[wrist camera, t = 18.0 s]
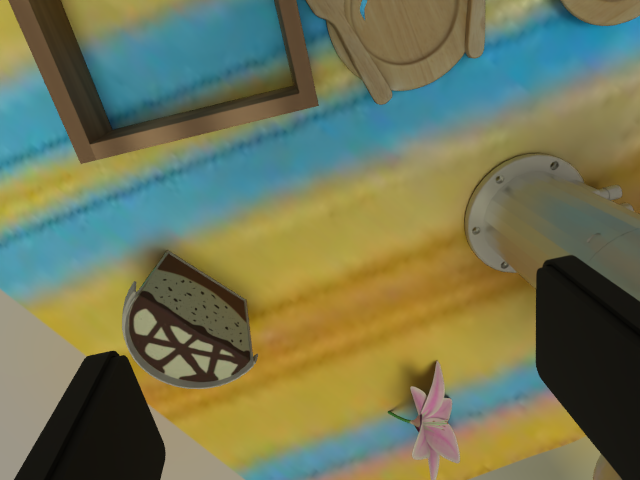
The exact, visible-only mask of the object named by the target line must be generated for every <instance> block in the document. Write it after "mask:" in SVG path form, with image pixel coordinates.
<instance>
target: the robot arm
mask: <svg viewBox="0 0 640 480" xmlns="http://www.w3.org/2000/svg"><path fill="white" fill-rule="evenodd" d="M497 176H498V177H497ZM496 177H497V179H496ZM620 197H622V190H621V188H620V186H618V185H612V186H608V187H604V188H602V189H599V190H597V189H595V188H593V187H591V186H588V185H586V184H585V183H584V180H583V178H582V177H581V175H580V174H579V172H578V171H577V170H576V169H575V168H574V167H573V166H572V165H571V164H570V163H568V162H566V161H564V160H562V159H560V158H557V157H555V156H552V155H547V154H541V153H536V154H526V155H522V156H518V157H515V158H512V159H510V160H508V161H506V162H504V163H502V164H501V165H499V166H498V167H496V168H495V169H493V170H492V171H491V172H490V173H489V174H488V175H487V176H486V177H485V178H484V179H483V180H482V181H481V183H480V184H479V185H478V186H477V188H476V189H475V191H474V193H473V195H472V197H471V199H470V201H469V204H468V207H467V210H466V216H465V233H466V237H467V241H468V243H469V245H470V247H471V249H472V251H473V252H474V253H475V254H476V255H477V257H478V258H479V259H481V260H482V261H483V262H484V263H485V264H486V265H488V266H490V267H492V268H493V269H496V270H499V271H502V272H511V273H519V274H520V275H521V276H522V277H523V278H524V279H525V280H526V281H527V282H529V283H530V284H531V285H532V286H533V287H534V288H535V289H536V367H537V371H538V374H539V376H540V378H541V379H542V381H543V382H544V383H545V384H546V386H547V387H548V388H549V389H550V391H551V392H552V393H553V394H554V396H555V397H556V398H557V399H558V401H559V402H560V403H561V404H562V406H563V407H564V408H565V409H566V410H567V412H568V413H569V414H570V415H571V417H572V418H573V419H574V420H575V422H576V423H577V424H578V425H579V427H580V428H581V429H582V430H583V432H584V433H585V434H586V435H587V437H588V438H589V439H590V440H591V442H592V443H593V444H594V445H595V447H596V448H597V449H598V450H599V451H600V453H601V455H600V457H599V459H598V461H597V463H596V467H595V469H594V474H593V480H640V214H639V213H636V212H634V209H633V208H632V206H631V205H630V204H628V203H622V204H617V203H615V202H613V201H611V200H615V199H619V198H620ZM473 228H474V229H473ZM164 462H165V447H164V443H163V440H162V438H161V435H160V433H159V431H158V428H157V426H156V424H155V421H154V419H153V417H152V414H151V412H150V409H149V407H148V405H147V402H146V400H145V398H144V395H143V393H142V391H141V388H140V386H139V384H138V381H137V379H136V376H135V374H134V372H133V369H132V367H131V365H130V362H129V360H128V358H127V357H126V356H124V355H122V356H119V354H118V353H117V352H116V351H109V352H105V353H100V354H95V355H90V356H87V357H86V358H85V359H84V361H83V362H82V364H81V366H80V368H79V369H78V371H77V373H76V374H75V376H74V378H73V379H72V381H71V383H70V385H69V386H68V388H67V390H66V391H65V393H64V395H63V397H62V398H61V400H60V402H59V403H58V405H57V407H56V409H55V410H54V412H53V414H52V416H51V417H50V419H49V421H48V422H47V424H46V426H45V427H44V429H43V431H42V432H41V434H40V436H39V438H38V440H37V441H36V443H35V445H34V446H33V448H32V450H31V451H30V453H29V455H28V456H27V458H26V460H25V462H24V463H23V465H22V467H21V469H20V470H19V472H18V474H17V475H16V477H15V479H14V480H160V478H161V474H162V470H163V466H164Z"/></svg>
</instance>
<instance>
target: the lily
mask: <svg viewBox="0 0 640 480" xmlns="http://www.w3.org/2000/svg"><path fill="white" fill-rule="evenodd" d="M410 388H411V393H412V396H413V399H414V402H415V405H416V408H417V412H418V416H417V418H416V419H415V420H407V419H404V418H402V417H400V416H397V415H395V414H394V413H392V412H390V411H388V413H389V414H390V415H392V416H394V417H396V418H398V419H400V420H402V421H405V422H408V423H411V424H413V425H415V427H416V429H417V430H418V432H419V435H418V438H417V440H416V443H415V446H414V449H413V452H412V457H413V458H414V459H417V460H419V459H426V458H428V461H429V468H430V476H431V480H436V477H437V473H438V467H439V455H441V456H442V457H444V458H446V459H448V460H450V461H452V462H455V463H459V462H460V454H459V448H458V444H457V440H456V436H455V434H454V432H453V429H452V428H451V426H450V425H449V424H448V420H449V417H450V414H451V409H452V400H451V399H450V398H444V394H445V390H444V380H443V375H442V370H441V367H440V363H439V362H438V361H437V363H436V368H435V374H434V379H433V383H432V386H431V389H430V392H429V395H428V397H427V396H426V394H425V393H424V392H423V391H422V390H420V389H418V388H416V387H413V386H411V387H410ZM421 410H422V411H421ZM420 412H421V413H420Z"/></svg>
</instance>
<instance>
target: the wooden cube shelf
mask: <svg viewBox="0 0 640 480" xmlns="http://www.w3.org/2000/svg"><path fill="white" fill-rule="evenodd" d="M274 2H275V6H276V11H277V15H278V19H279V24H280V28H281V32H282V37H283V41H284V45H285V50H286V54H287V58H288V63H289V67H290V71H291V76H292V80H293V84H294V86H290V87H286V88H282V89H278V90H274V91H270V92H266V93H261V94H257V95H253V96H249V97H245V98H241V99H237V100H233V101H229V102H224V103H220V104H216V105H212V106H208V107H204V108H200V109H196V110H192V111H187V112H183V113H179V114H175V115H171V116H167V117H163V118H159V119H155V120H151V121H146V122H142V123H138V124H134V125H130V126H126V127H122V128H118V129H114V130H112V128H111V125H110V123H109V120H108V118H107V115H106V113H105V110H104V108H103V105H102V103H101V100H100V98H99V95H98V93H97V90H96V88H95V85H94V83H93V80H92V78H91V75H90V73H89V70H88V68H87V65H86V63H85V60H84V58H83V55H82V53H81V51H80V48H79V46H78V43H77V41H76V38H75V36H74V33H73V31H72V28H71V26H70V23H69V21H68V18H67V16H66V13H65V11H64V8H63V6H62V3H61V1H60V0H9V3H10V5H11V7H12V9H13V12H14V14H15V16H16V18H17V21H18V23H19V25H20V28H21V30H22V32H23V34H24V37H25V39H26V41H27V43H28V46H29V48H30V50H31V52H32V55H33V57H34V59H35V61H36V64H37V66H38V68H39V70H40V73H41V75H42V77H43V79H44V82H45V84H46V86H47V89H48V91H49V93H50V95H51V98H52V100H53V102H54V104H55V107H56V109H57V111H58V113H59V116H60V118H61V120H62V122H63V125H64V127H65V129H66V131H67V134H68V136H69V138H70V141H71V143H72V145H73V147H74V150H75V152H76V154H77V156H78V159H79V161H80V163H81V164H82V163H86V162H90V161H95V160H99V159H103V158H107V157H111V156H115V155H119V154H123V153H127V152H131V151H135V150H139V149H144V148H148V147H152V146H156V145H160V144H164V143H168V142H172V141H176V140H180V139H184V138H188V137H193V136H197V135H201V134H205V133H209V132H213V131H217V130H221V129H225V128H229V127H233V126H237V125H242V124H246V123H250V122H254V121H258V120H262V119H266V118H270V117H274V116H278V115H282V114H286V113H291V112H295V111H299V110H303V109H307V108H311V107H315V106H319V105H318V100H317V95H316V91H315V86H314V81H313V77H312V72H311V67H310V63H309V58H308V53H307V49H306V44H305V39H304V34H303V30H302V25H301V20H300V16H299V11H298V6H297V2H296V0H274Z"/></svg>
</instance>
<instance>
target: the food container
mask: <svg viewBox="0 0 640 480" xmlns="http://www.w3.org/2000/svg"><path fill="white" fill-rule="evenodd" d="M122 330H123V335H124V339H125V342H126V345H127V347H128V350H129V352H130V354H131V355H132V357H133V359H134V360H135V361H136V362H137V364H138V365H139V366H140V367H141V368H142V369H143V370H145V371H146V372H147V373H148V374H149V375H151V376H153V377H154V378H156V379H158V380H160V381H162V382H164V383H167V384H170V385H173V386H176V387H182V388H188V389H205V388H212V387H217V386H221V385H224V384H227V383H230V382H232V381H234V380H236V379H238V378H239V377H241V376H242V375H244V374H245V373H247V372H248V371H249V370H250V369H251V368H252V367H253V365H254V364H255V363H256V361H257V357H258V354H256V355H255V356H254V357H253V352H252V344H251V335H250V327H249V318H248V310H247V302H246V299H244V298H242V297H241V296H239V295H238V294H236V293H235V292H233V291H231V290H230V289H228V288H227V287H225V286H223V285H222V284H220V283H219V282H217V281H216V280H214V279H212V278H211V277H209V276H208V275H206V274H205V273H203V272H201V271H200V270H198V269H197V268H195V267H194V266H192V265H190V264H189V263H187V262H186V261H184V260H183V259H181V258H179V257H178V256H176V255H175V254H173V253H172V252H170V251H168V250H167V252H166V253H165V254H164V256H163V257H162V259H161V260H160V261H159V263H158V264H157V265H156V267H155V268H154V270H153V271H152V272H151V274H150V275H149V276H148V278H147V279H146V281H145V282H144V283H143V285H142V286H141V287H140V289H139V290H138V292H136V282H135V281H134V283H133V284H132V286H131V287H130V289H129V291H128V294H127V296H126V299H125V303H124V308H123V317H122Z"/></svg>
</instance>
